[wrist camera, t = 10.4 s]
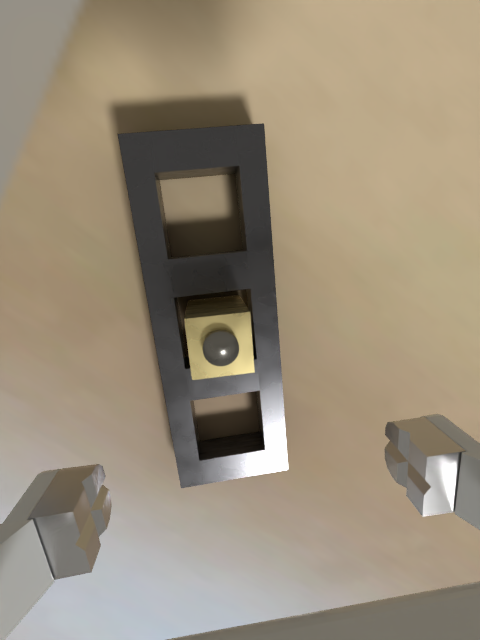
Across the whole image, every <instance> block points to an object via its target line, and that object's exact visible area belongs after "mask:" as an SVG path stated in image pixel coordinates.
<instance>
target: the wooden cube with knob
mask: <svg viewBox="0 0 480 640" xmlns="http://www.w3.org/2000/svg"><path fill="white" fill-rule="evenodd" d="M184 322H185V330H186V338H187V345H188V353H189V361H190V368H191V376H192V380H198V379H206V378H214V377H222V376H230V375H238V374H246V373H254V372H255V370H254V356H253V343H252V329H251V315H250V311H249V309H248V308H247V306H246V305H245V303H244V302H243V300H242V299H241V297H240V296H239V295H236V296H226V297H216V298H206V299H196V300H188V304H187V308H186V313H185V317H184Z"/></svg>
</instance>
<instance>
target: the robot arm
mask: <svg viewBox="0 0 480 640" xmlns="http://www.w3.org/2000/svg"><path fill="white" fill-rule="evenodd" d="M385 435H386V436H387V437H388V439H389V440H390V441H389V443H388V444H387V445H386V447H385V460H386V464H387V468H388V470H389V472H390V474H391V476H392V477H393V478H394V480H395V481H396V482H397V483H398V484H400V485H402V486H404V487H406V488H407V494H406V496H407V497H408V498H409V500H410V501H411V502H412V503H413V505H414V506H415V507H416V509H417V510H418V511H419V513H420V514H421V515H422V516H430V515H437V514H444V513H452V512H455V514H456V515H457V516H459V517H460V518H462V519H463V520H465V521H467V522H468V523H470V524H471V525H473V526H474V527H476V528H478V529H479V530H480V443H478V442H477V441H476V440H474V439H473V438H472V437H471V436H469V435H468V434H467V433H465V432H464V431H463V430H461V429H460V428H459V427H457V426H456V425H455V424H453V423H452V422H451V421H450V420H448V419H447V418H446V417H444V416H443V415H440V414H433V415H427V416H422V417H420V418H413V419H406V420H400V421H393V422H388V423H387V425H386V429H385ZM104 479H105V473H104V470H103V466H101V465H99V464H96V465H88V466H80V467H71V468H63V469H57V470H49V471H43V472H41V473H40V474H38V475H37V476H36V478H35V479H34V481H33V482H32V483H31V485H30V486H29V488H28V489H27V490H26V492H25V493H24V494H23V496H22V497H21V499H20V500H19V501H18V503H17V504H16V506H15V507H14V508H13V510H12V511H11V513H10V514H9V515H8V517H7V518H6V519H5V521H4V522H3V524H0V640H5V639H6V638H7V637H8V635H9V634H10V633H11V632H12V631H13V630H14V628H15V627H16V626H17V625H18V624H19V623H20V621H21V620H22V619H23V618H24V617H25V616H26V614H27V613H28V612H29V611H30V610H31V609H32V607H33V606H34V605H35V604H36V603H37V602H38V600H39V599H40V598H41V597H42V596H43V595H44V593H45V592H46V591H47V590H48V589H49V588H50V586H51V585H52V584H53V583H54V580H55V579H60V578H65V577H70V576H75V575H80V574H85V573H90V572H92V569H93V566H94V563H95V560H96V558H97V555H98V552H99V549H100V546H101V544H100V541H99V536H100V535H101V534H102V533H103V532H104V531H105V530H106V529H107V526H108V523H109V520H110V514H111V496H110V492H109V489H107V488H106V487H105V486H104V485H102V483H103V481H104ZM167 640H480V581H479V582H474V583H468V584H463V585H458V586H452V587H447V588H441V589H436V590H431V591H425V592H420V593H415V594H409V595H404V596H399V597H393V598H388V599H383V600H377V601H372V602H367V603H361V604H356V605H350V606H345V607H340V608H334V609H329V610H324V611H318V612H313V613H307V614H302V615H297V616H291V617H286V618H280V619H275V620H270V621H264V622H259V623H253V624H248V625H243V626H237V627H232V628H226V629H221V630H216V631H210V632H205V633H199V634H194V635H189V636H183V637H178V638H172V639H167Z"/></svg>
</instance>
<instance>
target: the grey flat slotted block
mask: <svg viewBox="0 0 480 640" xmlns="http://www.w3.org/2000/svg"><path fill="white" fill-rule="evenodd" d="M118 139H119V144H120V150H121V155H122V161H123V167H124V172H125V178H126V183H127V189H128V195H129V200H130V206H131V211H132V217H133V222H134V228H135V234H136V239H137V245H138V250H139V256H140V261H141V267H142V273H143V278H144V284H145V289H146V295H147V301H148V306H149V312H150V317H151V323H152V328H153V334H154V340H155V345H156V351H157V356H158V362H159V367H160V373H161V379H162V384H163V390H164V395H165V401H166V407H167V412H168V418H169V423H170V429H171V434H172V440H173V446H174V451H175V457H176V462H177V468H178V474H179V479H180V485H181V488H185V487H191V486H197V485H203V484H208V483H214V482H220V481H226V480H232V479H238V478H243V477H249V476H255V475H261V474H267V473H272V472H278V471H284V470H288V458H287V444H286V430H285V415H284V401H283V387H282V373H281V359H280V344H279V330H278V316H277V302H276V288H275V273H274V259H273V245H272V231H271V217H270V202H269V188H268V174H267V160H266V146H265V131H264V124H251V125H237V126H223V127H209V128H195V129H181V130H167V131H153V132H139V133H125V134H118ZM226 174H235V176H236V186H237V197H238V207H239V218H240V228H241V239H242V249H243V250H239V251H230V252H220V253H211V254H201V255H192V256H183V257H173V258H171V252H170V245H169V239H168V232H167V226H166V219H165V213H164V206H163V200H162V193H161V186H160V180H167V179H179V178H191V177H202V176H214V175H226ZM242 289H246V291H247V302H248V309H249V311H250V315H251V329H252V343H253V356H254V370H255V372H254V373H246V374H238V375H230V376H222V377H214V378H206V379H198V380H192V376H191V368H190V361H189V357H187V356H186V349H185V343H184V336H183V330H182V323H181V317H180V310H179V304H178V297H183V296H192V295H200V294H208V293H217V292H225V291H234V290H242ZM253 391H256V397H257V407H258V418H259V428H260V432H256V433H250V434H244V435H237V436H231V437H225V438H219V439H212V440H206V441H199V434H198V428H197V421H196V415H195V408H194V401H193V400H198V399H205V398H212V397H219V396H226V395H232V394H239V393H246V392H253Z"/></svg>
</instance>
